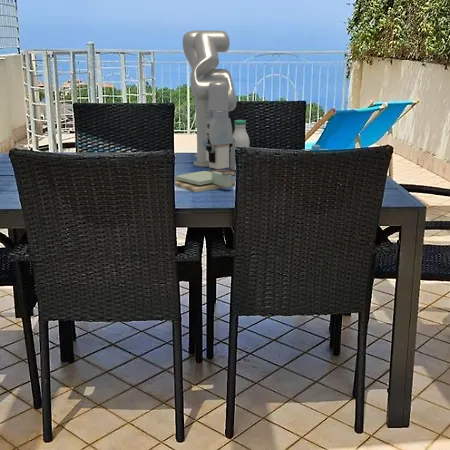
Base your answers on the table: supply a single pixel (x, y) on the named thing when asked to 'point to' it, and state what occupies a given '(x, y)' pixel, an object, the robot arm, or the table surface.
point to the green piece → (207, 178)
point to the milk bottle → (239, 139)
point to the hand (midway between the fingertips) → (218, 161)
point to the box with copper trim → (220, 157)
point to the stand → (198, 186)
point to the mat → (221, 171)
